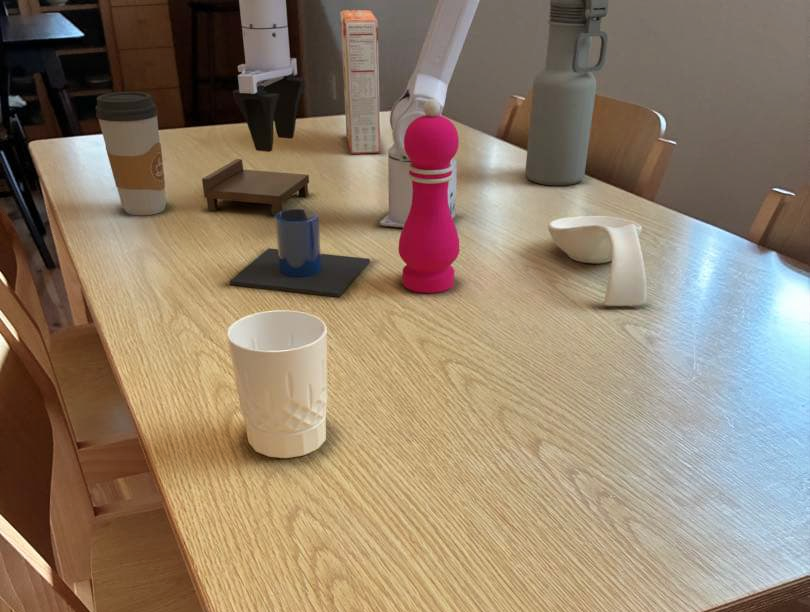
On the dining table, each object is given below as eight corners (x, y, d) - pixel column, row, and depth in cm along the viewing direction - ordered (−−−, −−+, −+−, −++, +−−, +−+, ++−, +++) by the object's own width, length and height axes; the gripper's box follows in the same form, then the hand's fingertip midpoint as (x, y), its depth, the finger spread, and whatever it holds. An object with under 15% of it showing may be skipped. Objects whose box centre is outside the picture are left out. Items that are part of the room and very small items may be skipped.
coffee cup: (159, 219, 117) (138, 104, 107) (106, 215, 118) (81, 101, 109) (182, 203, 123) (165, 92, 114) (132, 199, 124) (110, 89, 115)
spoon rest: (537, 240, 110) (543, 185, 106) (622, 239, 111) (631, 184, 106) (576, 310, 92) (585, 246, 87) (677, 308, 92) (691, 244, 88)
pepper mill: (464, 277, 100) (474, 95, 87) (448, 298, 94) (455, 108, 82) (409, 269, 101) (410, 90, 89) (390, 290, 96) (388, 103, 84)
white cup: (245, 417, 73) (230, 311, 66) (332, 413, 73) (326, 308, 67) (238, 465, 67) (221, 353, 60) (334, 461, 67) (327, 349, 61)
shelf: (310, 194, 127) (308, 164, 124) (281, 217, 118) (278, 185, 115) (240, 188, 129) (236, 158, 126) (206, 210, 120) (201, 178, 117)
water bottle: (597, 181, 133) (627, -25, 116) (554, 191, 129) (578, -22, 112) (555, 167, 140) (578, -29, 122) (512, 176, 136) (529, -27, 118)
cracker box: (344, 137, 157) (339, 9, 144) (375, 136, 158) (372, 9, 145) (348, 155, 146) (342, 18, 133) (381, 154, 147) (379, 18, 134)
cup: (327, 264, 102) (324, 210, 97) (313, 279, 98) (309, 223, 94) (289, 260, 103) (284, 206, 98) (273, 274, 99) (267, 219, 95)
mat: (369, 262, 104) (369, 258, 103) (339, 297, 94) (339, 293, 94) (268, 252, 106) (268, 248, 106) (229, 285, 97) (229, 280, 97)
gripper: (258, 18, 107) (268, 130, 116) (209, 32, 96) (225, 154, 105) (308, 20, 106) (315, 133, 114) (264, 34, 95) (275, 158, 103)
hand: (275, 144), depth 110 cm, fingers open, 7 cm apart
